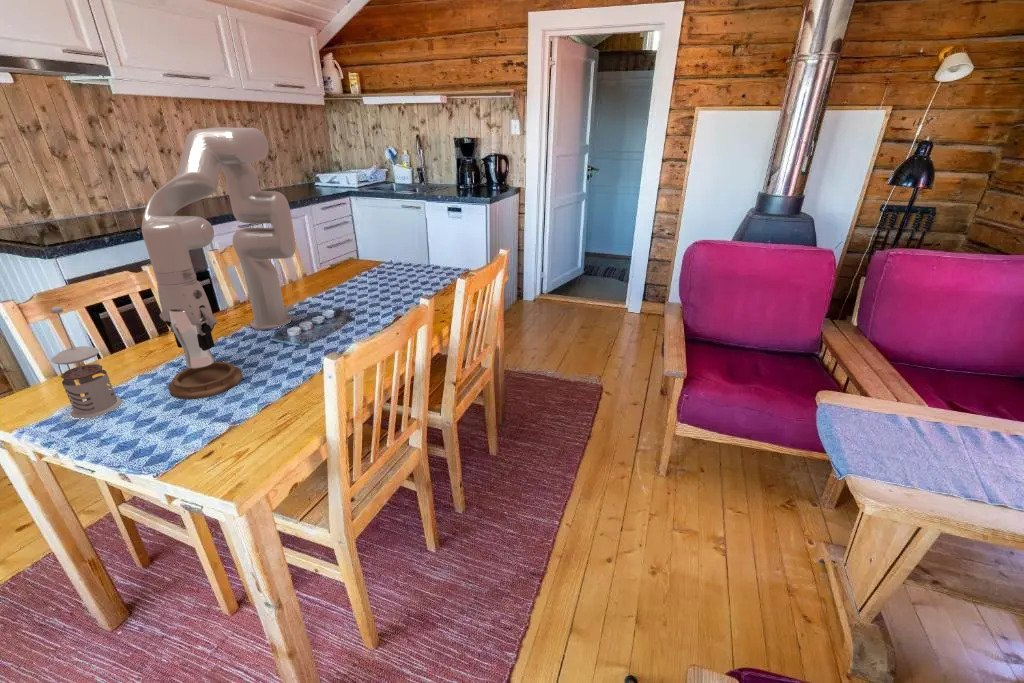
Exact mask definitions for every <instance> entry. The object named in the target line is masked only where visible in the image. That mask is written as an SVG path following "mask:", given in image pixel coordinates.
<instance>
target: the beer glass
mask: <svg viewBox="0 0 1024 683" xmlns="http://www.w3.org/2000/svg"><path fill="white" fill-rule="evenodd" d="M168 310H169V309H168ZM169 314H170V319H171V324H172V327H173V330H174V333H175V335H176V337H177V339H178V340H179V342H180V344H181V346H182V349H183V352H184V355H185V363H186V367H187V368H191V369H197V368H203V367H206V366H209V365H211V364H213V363H214V362H216V361H215V360H216V358H215V357H214V355H213V353H212V351H211V348H210V349H208V350H206V351H203V350H202V348H201V345H200V341H199V338H198V336H199V335H200V334H199V332H198V331H197V328H196V325H192V324H191V322H190V321H189V319H188V317H187V315H186V313H185V311H171V310H169ZM201 321H203V317H202V316H201V319H200V322H201ZM200 326H201V327H202V329H203V328H204V327H205V325H204V323H203V324H201V325H200ZM174 333H173V334H174Z"/></svg>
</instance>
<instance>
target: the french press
mask: <svg viewBox="0 0 1024 683" xmlns="http://www.w3.org/2000/svg"><path fill="white" fill-rule="evenodd" d="M50 312H51V313H50V314H53V315H55V314H57V316H58V318H59V321H60V323H61V326H62V329H63V330H64V332H65V333H64V334H65V335H66V338H67V340H68V343H69V345H70V347H69V348H66V349H64V350H61V351H60V352H58V353H57V354H55V355H54V356H53V357H52V358H51V359H50V362H52V364H55V365H57V366H58V370H59V371H60V372H59V373H60V375H61V376H60V378H62V379H63V380H62V381H61V384H62V386H63V389H64V390H65V393H66V395H67V397H68V399H69V403H70V404H71V407H72V411H70V413H71V416H72V417H74V418H80V419H81V418H91V417H96V416H100V417H102V416H101V415H103V414H105V413H108V412H110V411H112V410H114V411H116V410H117V409H116V408H118V407H119V406H120V405H121V404H122V402H123V403H124V399H122V398H121V397H118V396H117V395H116V392H115V390H114V387H113V385H112V383H111V380H110V376H109V375H108V373H107V371H106V370H105V369H103V365H101V364H97V363H93V364H92V363H91V364H84V365H81V364H80V363H81V362H85V361H88V360H90V359H93V358H95V357H96V356H97V355H98V354H99V351H100V349H99V348H98V347H92V346H88V345H87V346H85V345H82V346H73V344H72V342H71V339H70V337H69V334H68V332H67V329H66V327H65V324H64V322H63V319H62V317H61V316H60V313H63V312H64V309H63V308H62V307H61V306H54V307H52V308H50ZM72 364H78V366H75V367H73V368H70V365H72ZM61 365H66V366H67V369H68V370H66V371H64V372H63V371H62V370H61V367H60V366H61ZM98 374H103V375H99V376H98ZM96 375H97V376H96ZM93 376H95V377H93ZM76 382H77V383H78V384H76ZM110 389H111V390H110ZM82 395H84V396H82ZM120 398H121V399H120ZM84 400H85V401H84ZM122 405H123V404H122ZM122 405H121V406H122ZM121 406H120V407H121ZM120 407H119V408H120ZM119 408H118V409H119ZM115 409H116V410H115ZM108 414H109V413H108ZM103 416H104V415H103ZM96 418H97V417H96Z"/></svg>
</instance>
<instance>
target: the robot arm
mask: <svg viewBox="0 0 1024 683" xmlns="http://www.w3.org/2000/svg"><path fill="white" fill-rule="evenodd" d="M268 154H269V143H268V139H267V137H266V135H265V134H264V133H263V131H262V130H260V129H259V128H256V127H231V126H230V127H229V126H227V127H225V126H221V127H219V126H218V127H207V128H198V129H194V130H192V131H190V132H189V133H188V134H187V136H186V138H185V141H184V144H183V148H182V153H181V158H180V161H179V163H178V164H179V165H178V168H177V172H176V175H175V176H174V177H172V178H171V179H170V180H168V181H167V182H166V183H164V184H163V185H161V187H160V188H159V189H158V190H156V191H155V192H154V193H153V194H152V195H151V197H150V198H149V199H148V201H147V203H146V205H145V209H144V212H143V215H142V221H141V233H142V237H143V241H144V244H145V247H146V250H147V254H148V256H149V260H150V264H151V266H152V270H153V272H154V276H155V279H156V282H157V293H158V299H159V304H160V307H161V312H160V314H159V317H160V319H161V320H162V321H163V322H164V323H165V324H166V325H167V326H168V327H169V328H170V329H169V330H170V332H171V333H173V336H174V340H175V342H176V345H177V347H178V348H179V349H181V348H182V346H181V344H180V342H179V340H178V339H177V337H176V335H175V333H174V330H173V327H172V324H171V319H170V314H169V310H171V311H185V313H186V315H187V317H188V319H189V321H190V322H191V324H192V325H196V328H197V331H198V332H199V334H200V335H199V336H198V338H199V341H200V345H201V348H202V350H203V351H206V350H208V349H210V350H211V349H212V348H214V347H215V341H214V338H213V335H212V334H213V333H212V332H213V331H214V328H215V326H216V324H217V323H218V319H217V318H216V317H215V315H213V311H212V306H211V304H210V302H209V299H208V296H207V294H206V292H205V289H204V288H203V285H202V283H201V282H200V281H199V280H197V274H196V273H195V269H194V265H193V263H192V259H191V254H190V250H196V249H197V250H198V249H202V248H206V247H207V246H209V245H210V244H211V243H212V241H213V240H214V236H215V231H214V227H213V225H212V224H211V223H210V222H209V221H208V220H207V219H205V218H203V217H201V216H195V215H175V213H177V212H178V211H179V210H181V209H182V208H184V207H185V206H188V205H189V204H192V203H196V202H199V201H200V200H202V199H205V198H207V197H210V196H211V195H213V194H214V193H215V192H216V191H217V188H218V183H219V182H218V181H219V178H220V174H221V171H222V173H223V175H224V178H225V182H226V187H227V191H228V195H229V196H228V197H229V201H230V206H231V210H232V214H233V217H234V218H235V220H236V221H237V222H240V223H243V224H271V225H272V227H243V228H240V229H238V230H236V231H235V232H234V234H233V236H232V245H233V249H234V251H235V254H236V256H237V258H238V260H239V263H240V266H241V268H242V273H243V277H244V279H245V280H244V281H245V283H246V284H245V285H246V288H247V294H248V298H249V302H250V305H251V309H252V314H253V319H251V321H250V322H249V324H250V328H251V327H252V328H251V329H253V328H255V329H254V330H256V329H261V330H260V331H267V330H266V329H272V330H274V329H273V328H277V327H280V326H283V325H285V324H287V323H289V322H290V321H291V320H292V321H293V318H292V315H291V314H290V315H289V314H288V313H289V312H290V311H292V310H294V308H295V306H294V305H293V304H292V303H290V304H288V305H286V306H285V304H284V299H283V293H282V289H281V285H280V284H281V283H280V279H279V274H278V270H277V269H276V267H275V265H274V264H273V263H272V262H271V260H278V259H279V260H283V259H284V260H286V259H290V258H292V257H294V255H295V254H296V238H295V231H294V226H293V220H292V219H293V218H292V212H291V207H290V205H289V202H288V199H287V198H286V196H285V195H284V194H283V193H281V192H280V191H275V190H261V187H260V182H259V178H258V173H257V171H256V170H255V168H254V167H253V166H252V165H251V164H252V163H256V162H260V161H263V160H265V158H267V155H268ZM168 309H169V310H168ZM201 316H202V317H203V321H201V322H200V319H201ZM203 323H204V325H205V327H204V328H203V329H202V327H201V326H200V325H201V324H203ZM264 329H265V330H264ZM277 329H278V328H277ZM182 349H183V348H182Z"/></svg>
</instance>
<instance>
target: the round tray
mask: <svg viewBox="0 0 1024 683" xmlns="http://www.w3.org/2000/svg"><path fill="white" fill-rule="evenodd" d="M243 377H244V376H243V372H242V370H241V368H239V367H238V366H236V365H234V364H233V363H232V362H227V361H215V362H214V363H213V364H211V365H209V366H206V367H203V368H197V369H191V368H188V367H187V368H185V369H183V370H182V371H179V372H177V373H176V374H175V375H174V377H173V378H172V380H171V382H169V384H168V390H169V394H170V395H171V396H172V397H174V398H176V399H180V400H181V399H182V400H198V399H204V398H209V397H213V396H215V395H219V394H222V393H225V392H226V391H228V390H231V389H233V388H235V386H237V385H238V384H239V383H240V382H241V381H242V380H243Z"/></svg>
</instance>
